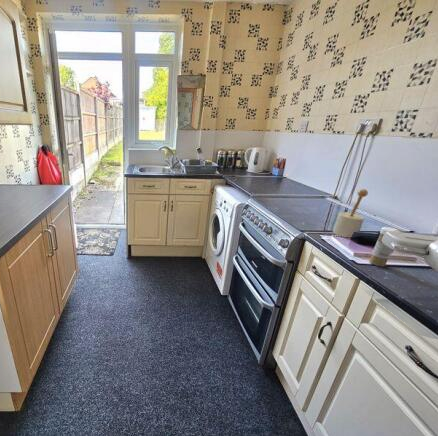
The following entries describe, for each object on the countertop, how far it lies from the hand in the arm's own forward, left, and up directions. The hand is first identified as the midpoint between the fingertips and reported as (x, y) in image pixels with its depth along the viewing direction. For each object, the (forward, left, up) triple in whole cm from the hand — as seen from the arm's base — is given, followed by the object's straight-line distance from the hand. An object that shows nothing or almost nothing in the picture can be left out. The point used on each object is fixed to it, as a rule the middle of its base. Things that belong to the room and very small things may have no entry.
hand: (417, 234), depth 70 cm
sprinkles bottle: (0, -12, -17) cm, 21 cm away
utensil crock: (+2, -38, -17) cm, 42 cm away
